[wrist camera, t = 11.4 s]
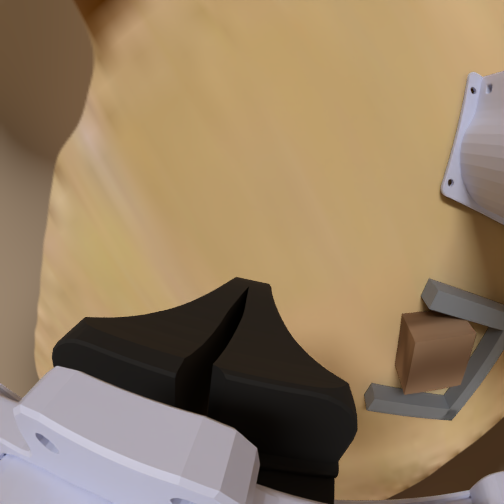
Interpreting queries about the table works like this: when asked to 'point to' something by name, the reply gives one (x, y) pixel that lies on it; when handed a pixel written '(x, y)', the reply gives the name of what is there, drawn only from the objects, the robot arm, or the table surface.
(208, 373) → the robot arm
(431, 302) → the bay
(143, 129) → the table surface
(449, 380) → the walnut block
